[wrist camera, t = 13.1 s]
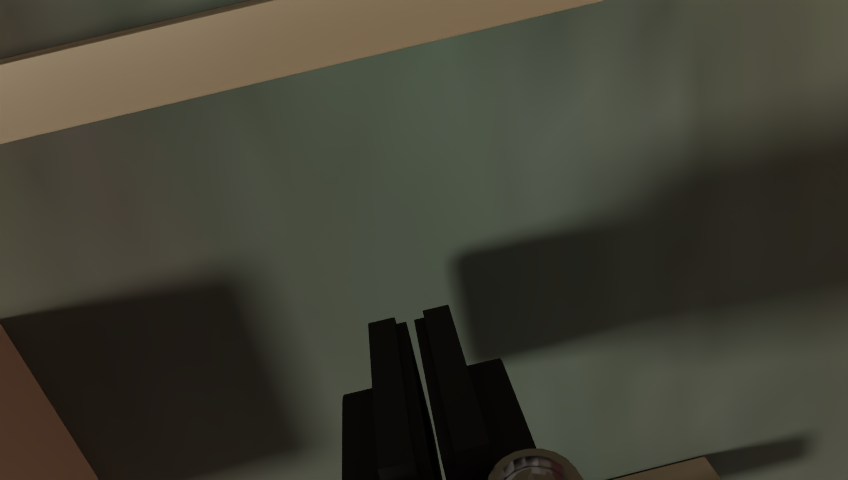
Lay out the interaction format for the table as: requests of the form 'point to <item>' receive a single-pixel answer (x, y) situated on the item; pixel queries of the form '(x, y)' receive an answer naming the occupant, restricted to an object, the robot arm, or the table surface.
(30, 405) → the block
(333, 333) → the table surface
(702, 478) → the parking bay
